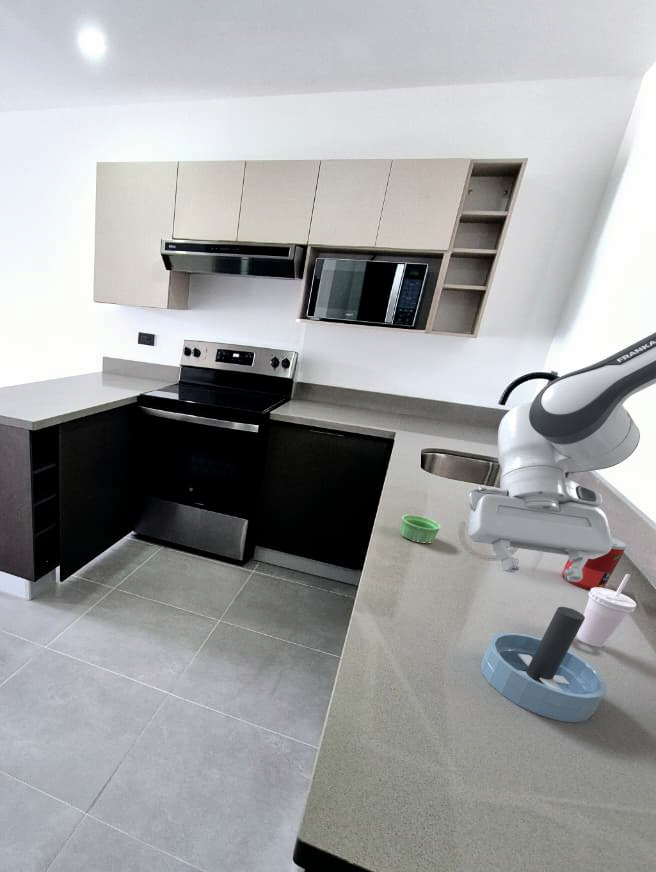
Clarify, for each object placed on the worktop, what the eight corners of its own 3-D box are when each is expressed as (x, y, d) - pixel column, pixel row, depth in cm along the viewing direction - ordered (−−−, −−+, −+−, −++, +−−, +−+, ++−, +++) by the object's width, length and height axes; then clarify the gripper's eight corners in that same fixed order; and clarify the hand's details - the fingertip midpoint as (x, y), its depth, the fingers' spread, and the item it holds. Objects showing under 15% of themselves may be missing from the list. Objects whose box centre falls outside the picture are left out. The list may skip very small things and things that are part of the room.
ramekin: (398, 526, 132) (403, 511, 130) (435, 536, 129) (440, 520, 127) (396, 538, 124) (401, 522, 122) (435, 548, 121) (441, 532, 119)
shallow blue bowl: (573, 677, 79) (587, 651, 77) (605, 740, 67) (623, 712, 65) (473, 647, 84) (484, 622, 82) (486, 701, 71) (499, 673, 69)
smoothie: (619, 654, 87) (660, 584, 81) (589, 654, 86) (628, 584, 80) (586, 631, 93) (622, 565, 87) (558, 631, 91) (592, 564, 86)
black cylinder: (543, 670, 79) (580, 600, 74) (580, 709, 71) (624, 634, 66) (491, 663, 79) (523, 593, 74) (522, 702, 71) (561, 626, 66)
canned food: (605, 595, 108) (629, 550, 104) (561, 582, 112) (583, 538, 107) (600, 582, 114) (623, 539, 110) (559, 570, 118) (580, 527, 113)
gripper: (479, 477, 79) (485, 559, 74) (612, 495, 78) (627, 580, 73) (458, 494, 85) (462, 571, 80) (582, 511, 84) (593, 591, 79)
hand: (542, 575), depth 77 cm, fingers open, 8 cm apart
